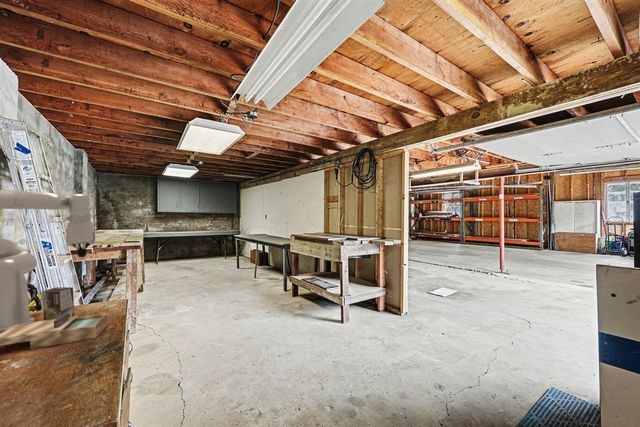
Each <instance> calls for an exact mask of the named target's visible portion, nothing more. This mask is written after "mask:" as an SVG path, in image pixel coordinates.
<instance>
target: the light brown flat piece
mask: <svg viewBox="0 0 640 427" xmlns="http://www.w3.org/2000/svg"><path fill="white" fill-rule="evenodd" d="M74 316H75V317H69V313H65V314H63V315H61V316H60V317H59V318H57V319H53V320H46V321H44V320H39V321H33V322H31V323H24V324H16V325H14V326H13V327H11V328H9V329H8V330H5V331H2V332H1V333H0V346H6V345H7V346H8V345H12V344H17V343H18V344H19V343H26V342H30V341H33V340H39V339H46V338H52V337H59V336H61V333H60V331H61V330H63V329H64V328H65V327H66V326H67V325H69V324H70V323H71V322H72V321H73V320H75V319H76V318H78V317H79V316H77V315H74Z"/></svg>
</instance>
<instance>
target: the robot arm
mask: <svg viewBox="0 0 640 427" xmlns="http://www.w3.org/2000/svg"><path fill="white" fill-rule="evenodd" d="M90 203H91V202H90V196H89V195H88V194H87V193H86V194H85V193H72V194H71V193H70V194H66V193H59V192H58V193H56V192H36V191H23V190H18V189H17V190H14V189H0V210H2V209H3V210H5V209H7V210H27V209H28V210H50V211H51V210H52V211H53V210H68V211H69V216H67V217H66V218H65V219H66V221H68V222H67V224H66V230H65V241H66V243H67V244H66V245H67V247H68V246H69V247H74V248H75V249H76V250H77V253H76V254H77V256H78V258H85V257H86V256H87V248H88V247H90V246H91V245H95V244H96V232H95V227H94V224H93V221H91V208H90V206H91V204H90ZM81 244H82V245H81ZM37 264H38V261H37V258H36V256H34V255H33V254H32V253H31V252H29V251H28V250H26V249H24V248H23V247H21V246H20V245H18V244H17V243H16V242H14V241H12V240H10V239H7V238H0V332H5V331H6V330H8V329H9V328H11V327H13V326H14V325H16V324H24V323H31V322H35V318H34V317H33V316H30V305H29V303H30V302H29V290H28V282H27V278H26V277H25V274H26V273H29V272H31V271H32V270H34V269H35V268H36V267H37Z"/></svg>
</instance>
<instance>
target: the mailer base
mask: <svg viewBox="0 0 640 427" xmlns="http://www.w3.org/2000/svg"><path fill="white" fill-rule="evenodd" d="M108 324H109V322H108V313H101V314H93V315H86V316H80V317H79V316H78V318H76V319H75V320H73V321H72V322H71V323H70V324H69V325H67V326H66V327H65V328H64V329H63V330H61V331H60V333H61V336H59V337H52V338H46V339H39V340H33V341H29V346H30V350H33V349H39V348H43V347H50V346H56V345H57V346H58V345H61V344H63V345H64V344H68V343H74V342H81V341H82V342H83V341H86V340H92V339H93V340H94V339H97V337H98V336H99V335H100V333H102V332H103V331H104V329H105V328H106V327H107V326H108Z"/></svg>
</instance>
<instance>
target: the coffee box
mask: <svg viewBox="0 0 640 427" xmlns="http://www.w3.org/2000/svg"><path fill="white" fill-rule="evenodd" d="M41 297H42V298H41V299H42V300H41V302H42V312H43V321H46V320H53V319H57V318H59V317H60V316H61V315H63V314H65V313H69V317H75V316H76V315H75V302H74V287H66V286H65V287H61V286H59V287H53V288H50V289H47V290H43V291H41Z"/></svg>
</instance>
